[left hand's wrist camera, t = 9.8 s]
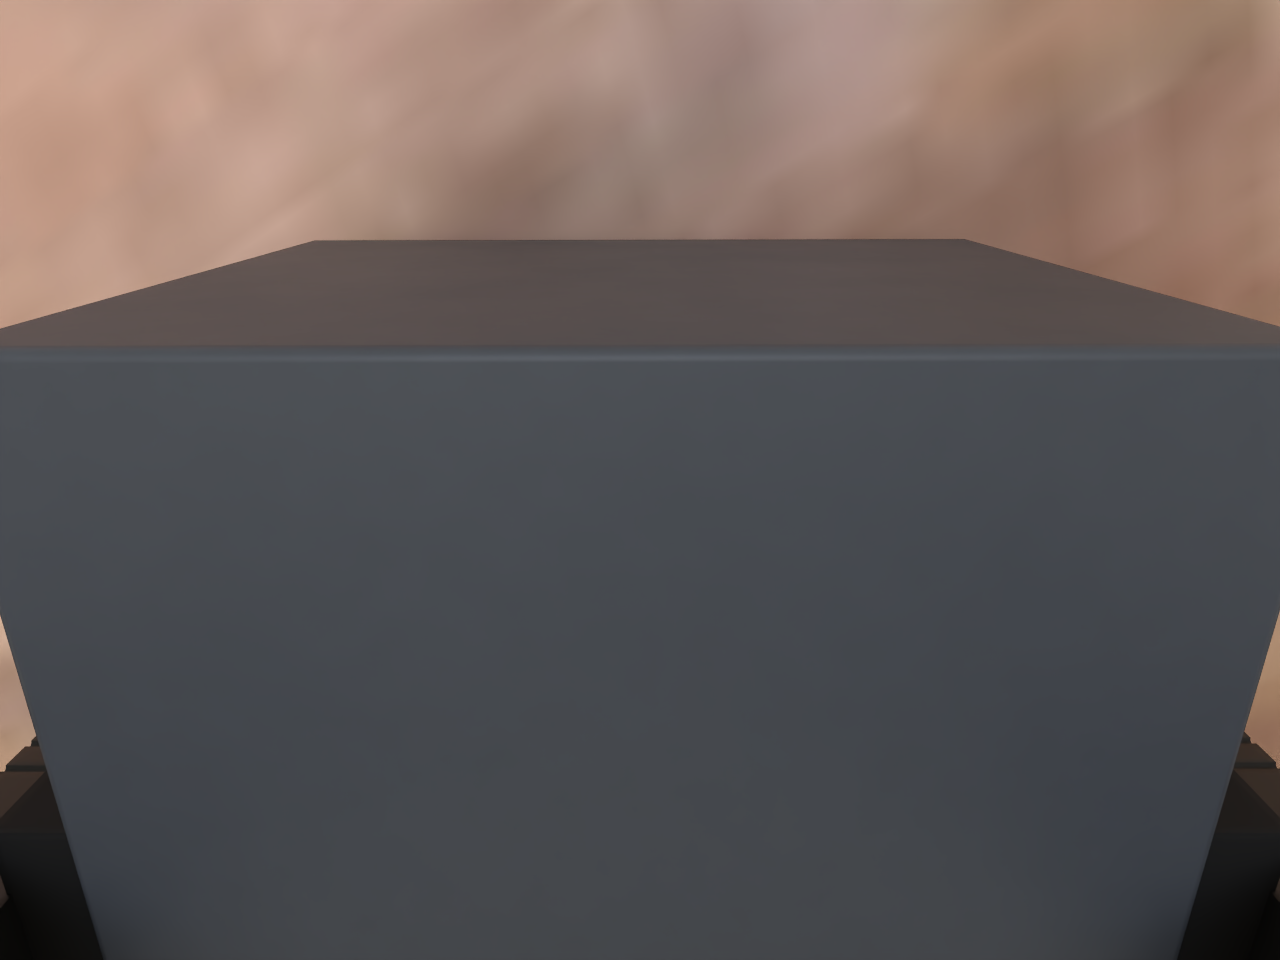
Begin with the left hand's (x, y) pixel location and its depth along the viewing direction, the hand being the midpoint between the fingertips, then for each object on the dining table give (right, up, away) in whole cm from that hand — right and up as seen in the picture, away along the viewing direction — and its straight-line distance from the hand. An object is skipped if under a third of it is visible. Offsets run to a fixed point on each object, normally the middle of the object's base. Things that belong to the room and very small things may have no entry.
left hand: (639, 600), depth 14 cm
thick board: (0, -26, +10) cm, 28 cm away
